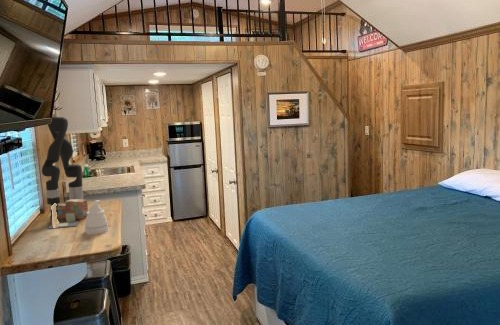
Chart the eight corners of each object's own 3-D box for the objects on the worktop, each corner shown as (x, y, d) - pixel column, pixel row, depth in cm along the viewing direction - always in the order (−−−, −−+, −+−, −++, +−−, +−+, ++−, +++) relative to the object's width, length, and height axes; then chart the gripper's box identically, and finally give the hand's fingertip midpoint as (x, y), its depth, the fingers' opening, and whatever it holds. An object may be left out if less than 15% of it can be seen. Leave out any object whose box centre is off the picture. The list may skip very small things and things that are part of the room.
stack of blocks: (54, 218, 264) (52, 200, 263) (60, 216, 271) (58, 198, 269) (83, 219, 261) (81, 201, 259) (88, 216, 267) (87, 199, 265)
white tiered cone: (100, 226, 244) (97, 198, 241) (112, 229, 236) (110, 200, 234) (80, 231, 233) (78, 202, 231) (93, 235, 226) (91, 205, 224)
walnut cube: (52, 222, 256) (51, 214, 255) (60, 221, 257) (59, 213, 256) (50, 224, 251) (50, 216, 250) (59, 223, 252) (58, 215, 252)
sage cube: (67, 220, 259) (66, 213, 259) (75, 219, 261) (74, 212, 260) (66, 222, 255) (65, 214, 254) (74, 221, 256) (74, 214, 255)
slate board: (51, 224, 250) (51, 223, 249) (78, 222, 254) (78, 220, 254) (48, 229, 240) (48, 228, 240) (76, 226, 245) (76, 225, 245)
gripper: (48, 194, 257) (51, 219, 259) (44, 199, 244) (47, 225, 246) (61, 193, 259) (63, 218, 262) (58, 197, 246) (60, 224, 248)
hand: (55, 221), depth 254 cm, fingers closed on walnut cube, 5 cm apart
